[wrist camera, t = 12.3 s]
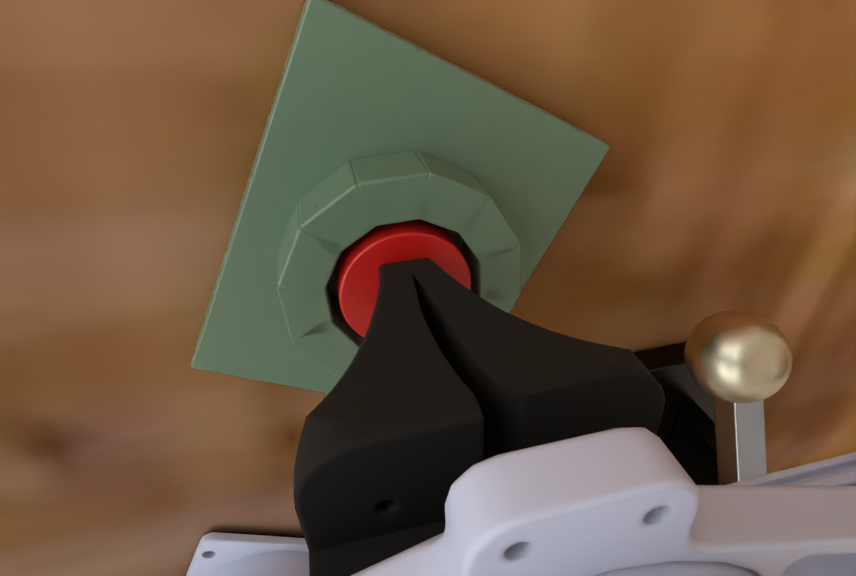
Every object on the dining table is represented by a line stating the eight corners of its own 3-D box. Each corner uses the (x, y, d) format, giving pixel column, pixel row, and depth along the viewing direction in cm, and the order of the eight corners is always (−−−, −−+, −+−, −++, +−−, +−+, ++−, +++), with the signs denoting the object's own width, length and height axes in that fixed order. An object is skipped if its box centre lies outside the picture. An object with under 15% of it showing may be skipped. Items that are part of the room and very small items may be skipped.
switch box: (436, 390, 20) (457, 454, 18) (196, 340, 17) (179, 411, 14) (588, 133, 16) (648, 167, 13) (308, -11, 12) (312, -4, 10)
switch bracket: (557, 367, 21) (720, 616, 13) (726, 333, 22) (970, 541, 14) (540, 510, 27) (648, 748, 19) (677, 476, 28) (834, 685, 20)
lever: (662, 311, 18) (727, 329, 15) (738, 297, 18) (816, 311, 15) (684, 614, 19) (746, 684, 16) (753, 594, 20) (825, 658, 17)
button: (423, 324, 16) (436, 358, 15) (316, 295, 15) (319, 331, 14) (475, 229, 15) (495, 257, 14) (362, 187, 14) (370, 214, 12)
